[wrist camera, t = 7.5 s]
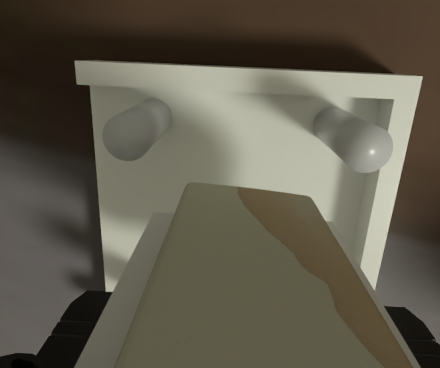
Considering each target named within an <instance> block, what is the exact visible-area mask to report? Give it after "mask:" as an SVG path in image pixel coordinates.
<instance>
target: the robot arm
mask: <svg viewBox="0 0 440 368" xmlns="http://www.w3.org/2000/svg"><path fill="white" fill-rule="evenodd" d="M174 214H175V213H160V212H153V214H152V216H151V218H150V220H149V222H148V224H147V226H146V228H145V230H144V232H143V234H142V236H141V238H140V240H139V242H138V244H137V246H136V248H135V250H134V251H133V253H132V255H131V257H130V259H129V261H128V263H127V265H126V267H125V269H124V271H123V273H122V275H121V277H120V279H119V281H118V283H117V285H116V287H115V289H114V291H113V292H104V291H86V292H85V293H84V294H82V295H81V296H80V297H78V298H77V299H76V300H74V301H73V302H72V303H71V304H70V305H69V307H68V308H67V310H66V311H65V313H64V314H63V316H62V317H61V319H60V322H58V323H57V325H56V326H55V328H54V329H53V331H52V334H51V336H49V337H48V339H47V340H46V342H45V343H44V345H43V346H42V348H41V349H40V351H39V352H38V354H37V355H33V354H26V353H15V354H10V355H6V356H2V357H0V368H114V366H115V363H116V361H117V358H118V355H119V353H120V350H121V348H122V345H123V343H124V340H125V338H126V335H127V332H128V330H129V327H130V325H131V322H132V320H133V317H134V315H135V312H136V310H137V307H138V305H139V302H140V300H141V297H142V295H143V292H144V289H145V287H146V284H147V282H148V279H149V276H150V274H151V271H152V269H153V266H154V264H155V261H156V259H157V256H158V254H159V251H160V249H161V246H162V244H163V241H164V238H165V236H166V234H167V231H168V229H169V226H170V224H171V221H172V219H173V216H174ZM326 223H327V224H328V226H329V228H330V229H331V231H332V233H333V234H334V236H335V238H336V239H337V241H338V243H339V244H340V246H341V248H342V249H343V251H344V252H345V254H346V256H347V257H348V259H349V261H350V262H351V264H352V266H353V267H354V269H355V271H356V273H357V274H358V276H359V278H360V279H361V281H362V283H363V284H364V286H365V288H366V290H367V291H368V293H369V295H370V296H371V298H372V299H373V301H374V303H375V304H376V306H377V308H378V309H379V311H380V313H381V314H382V316H383V318H384V319H385V321H386V322H387V324H388V326H389V328H390V330H391V331H392V333H393V335H394V336H395V338H396V339H397V341H398V343H399V344H400V346H401V348H402V349H403V351H404V353H405V354H406V356H407V358H408V360H409V361H410V363H411V365H412V366H413V368H440V345H439V344H438V343H436V339H435V338H434V337H433V335H432V334H431V332H430V331H429V330H428V328H427V327H426V325H425V324H424V323H423V322H422V321H421V320H420V319H419V318H417V317H416V316H415V315H414V314H412V313H411V312H410V311H409V310H407V309H406V308H405V307H388V306H383V304H382V302H381V301H380V299H379V297H378V296H377V294H376V292H375V291H374V289H373V287H372V286H371V284H370V282H369V281H368V279H367V277H366V276H365V274H364V273H363V271H362V269H361V268H360V266H359V264H358V263H357V261H356V259H355V258H354V256H353V254H352V253H351V251H350V249H349V248H348V246H347V244H346V243H345V241H344V239H343V238H342V236H341V234H340V233H339V231H338V229H337V228H336V226H335V224H334V223H333V222H330V221H326Z"/></svg>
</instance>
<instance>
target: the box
mask: <svg viewBox="0 0 440 368" xmlns="http://www.w3.org/2000/svg"><path fill="white" fill-rule="evenodd" d="M114 368H413V366H412V365H411V363H410V361H409V360H408V358H407V356H406V354H405V353H404V351H403V349H402V348H401V346H400V344H399V343H398V341H397V339H396V338H395V336H394V335H393V333H392V331H391V330H390V328H389V326H388V324H387V322H386V321H385V319H384V318H383V316H382V314H381V313H380V311H379V309H378V308H377V306H376V304H375V303H374V301H373V299H372V298H371V296H370V295H369V293H368V291H367V290H366V288H365V286H364V284H363V283H362V281H361V279H360V278H359V276H358V274H357V273H356V271H355V269H354V267H353V266H352V264H351V262H350V261H349V259H348V257H347V256H346V254H345V252H344V251H343V249H342V248H341V246H340V244H339V243H338V241H337V239H336V238H335V236H334V234H333V233H332V231H331V229H330V228H329V226H328V224H327V223H326V221H325V220H324V218H323V216H322V215H321V213H320V211H319V209H318V208H317V206H316V204H315V203H314V201H313V200H312V198H311V197H309V196H306V195H298V194H292V193H285V192H277V191H270V190H263V189H255V188H245V187H238V186H228V185H219V184H208V183H197V182H190V183H188V184H187V185H186V186H185V189H184V191H183V193H182V196H181V198H180V201H179V204H178V206H177V209H176V211H175V214H174V216H173V219H172V221H171V224H170V226H169V229H168V231H167V234H166V236H165V238H164V241H163V244H162V246H161V249H160V251H159V254H158V256H157V259H156V261H155V264H154V266H153V269H152V271H151V274H150V276H149V279H148V282H147V284H146V287H145V289H144V292H143V295H142V297H141V300H140V302H139V305H138V307H137V310H136V312H135V315H134V317H133V320H132V322H131V325H130V327H129V330H128V332H127V335H126V338H125V340H124V343H123V345H122V348H121V350H120V353H119V355H118V358H117V361H116V363H115V366H114Z"/></svg>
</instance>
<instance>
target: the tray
mask: <svg viewBox="0 0 440 368" xmlns="http://www.w3.org/2000/svg"><path fill="white" fill-rule="evenodd" d="M75 71H76V83H77V85H90V96H91V108H92V121H93V134H94V147H95V159H96V172H97V185H98V197H99V210H100V223H101V236H102V248H103V261H104V274H105V287H106V292H113V291H114V289H115V287H116V285H117V283H118V281H119V279H120V277H121V275H122V273H123V271H124V269H125V267H126V265H127V263H128V261H129V259H130V257H131V255H132V253H133V251H134V250H135V248H136V246H137V244H138V242H139V240H140V238H141V236H142V234H143V232H144V230H145V228H146V226H147V224H148V222H149V220H150V218H151V216H152V214H153V212H160V213H175V211H176V209H177V206H178V204H179V201H180V198H181V196H182V193H183V191H184V189H185V186H186V185H187V184H188V183H190V182H197V183H208V184H219V185H228V186H238V187H245V188H255V189H263V190H270V191H277V192H285V193H292V194H298V195H306V196H309V197H311V198H312V200H313V201H314V203H315V204H316V206H317V208H318V209H319V211H320V213H321V215H322V216H323V218H324V220H325V221H330V222H333V223H334V224H335V226H336V228H337V229H338V231H339V233H340V234H341V236H342V238H343V239H344V241H345V243H346V244H347V246H348V248H349V249H350V251H351V253H352V254H353V256H354V258H355V259H356V261H357V263H358V264H359V266H360V268H361V269H362V271H363V273H364V274H365V276H366V277H367V279H368V281H369V282H370V284H371V286H372V287H373V289H374V291H375V287H376V283H377V278H378V274H379V269H380V265H381V260H382V256H383V251H384V247H385V242H386V238H387V234H388V229H389V225H390V220H391V216H392V211H393V207H394V202H395V198H396V193H397V189H398V185H399V180H400V176H401V171H402V167H403V162H404V158H405V153H406V149H407V144H408V140H409V136H410V131H411V127H412V122H413V118H414V113H415V109H416V104H417V100H418V95H419V91H420V87H421V82H422V78H423V76H413V75H403V74H390V73H368V72H346V71H324V70H301V69H279V68H257V67H235V66H213V65H191V64H168V63H146V62H124V61H102V60H86V61H75Z"/></svg>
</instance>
